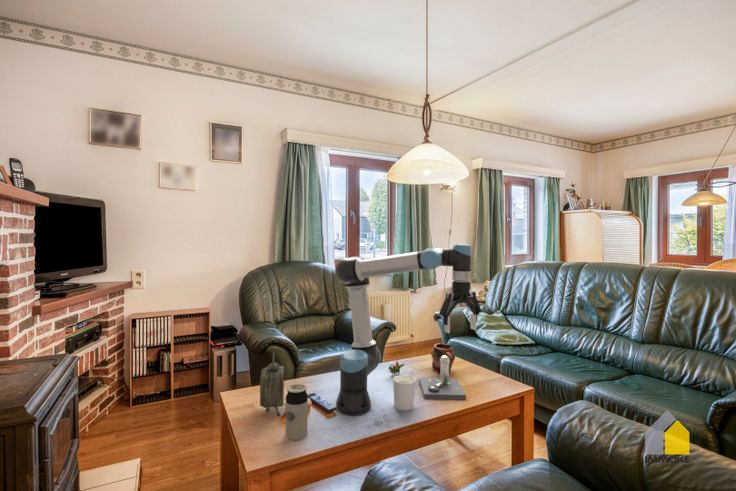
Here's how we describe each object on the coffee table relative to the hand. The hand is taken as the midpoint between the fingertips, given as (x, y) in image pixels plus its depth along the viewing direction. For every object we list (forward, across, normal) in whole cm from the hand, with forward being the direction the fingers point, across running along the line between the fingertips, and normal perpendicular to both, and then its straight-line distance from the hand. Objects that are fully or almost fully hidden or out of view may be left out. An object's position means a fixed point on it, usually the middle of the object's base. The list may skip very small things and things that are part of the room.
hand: (460, 330), depth 158 cm
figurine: (+35, -5, +46) cm, 58 cm away
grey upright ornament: (+35, -73, +31) cm, 86 cm away
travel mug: (+35, -68, +8) cm, 77 cm away
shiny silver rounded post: (+32, +4, +21) cm, 39 cm away
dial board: (+35, +6, +21) cm, 41 cm away
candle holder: (+35, -19, +13) cm, 42 cm away
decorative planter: (+35, +22, +42) cm, 59 cm away
